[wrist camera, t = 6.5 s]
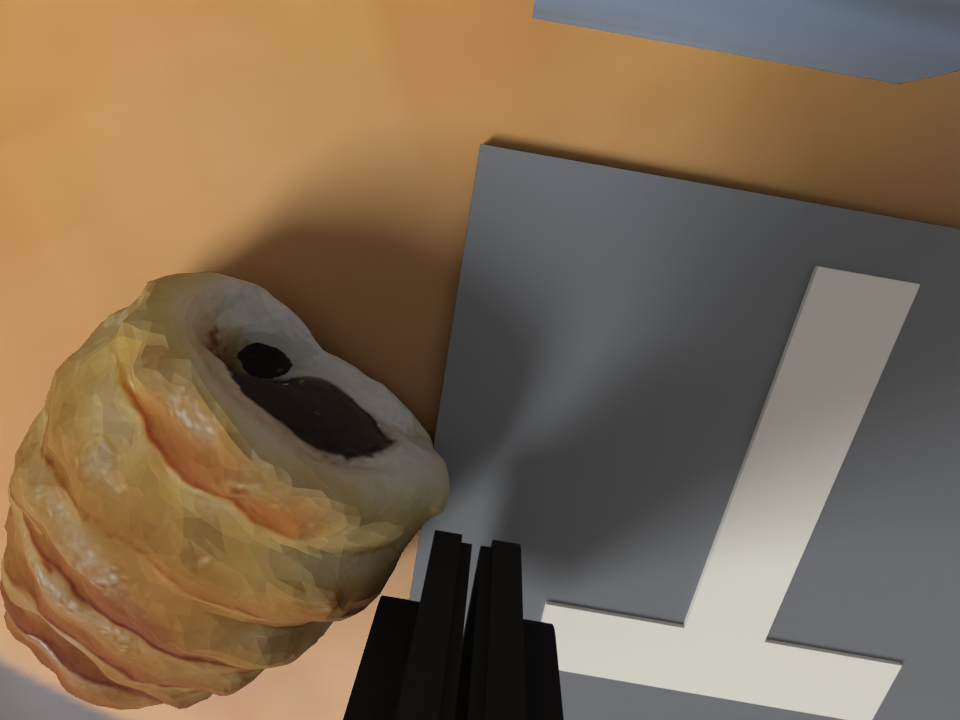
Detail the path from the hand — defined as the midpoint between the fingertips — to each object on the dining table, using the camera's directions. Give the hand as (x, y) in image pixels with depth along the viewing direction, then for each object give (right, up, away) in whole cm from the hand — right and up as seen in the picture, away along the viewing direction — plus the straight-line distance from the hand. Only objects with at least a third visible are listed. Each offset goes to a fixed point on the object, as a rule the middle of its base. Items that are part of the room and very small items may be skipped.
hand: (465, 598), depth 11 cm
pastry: (-5, +2, +1) cm, 5 cm away
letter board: (+6, +1, +1) cm, 6 cm away
